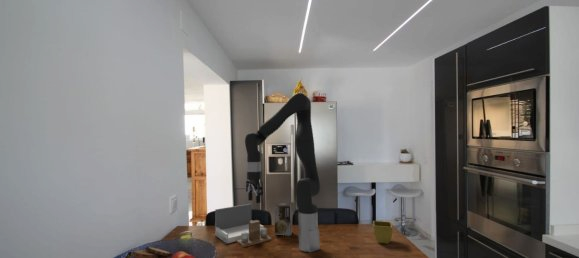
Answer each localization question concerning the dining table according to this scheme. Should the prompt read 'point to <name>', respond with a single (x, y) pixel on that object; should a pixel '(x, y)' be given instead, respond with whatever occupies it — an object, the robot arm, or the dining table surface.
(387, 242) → the flower pot
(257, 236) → the tray
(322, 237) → the dining table surface
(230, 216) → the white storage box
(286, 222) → the coffee box
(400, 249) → the dining table surface
